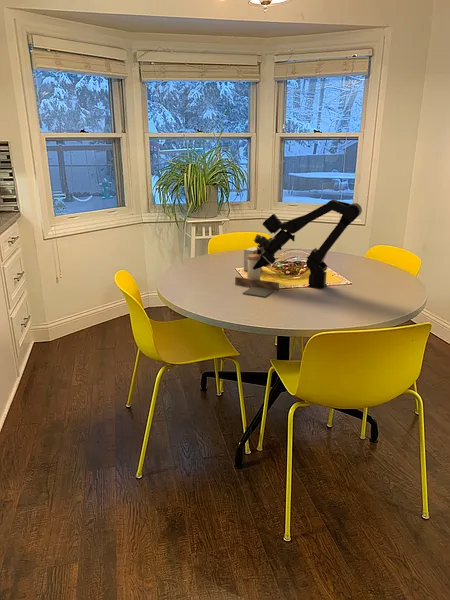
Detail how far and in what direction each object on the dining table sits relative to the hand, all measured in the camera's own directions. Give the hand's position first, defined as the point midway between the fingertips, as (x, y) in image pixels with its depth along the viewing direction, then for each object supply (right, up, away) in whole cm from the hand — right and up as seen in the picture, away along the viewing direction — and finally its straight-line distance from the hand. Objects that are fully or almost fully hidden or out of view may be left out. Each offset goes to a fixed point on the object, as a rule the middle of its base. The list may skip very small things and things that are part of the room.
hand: (252, 266), depth 201 cm
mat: (+2, -12, -12) cm, 17 cm away
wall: (+2, -9, -4) cm, 10 cm away
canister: (+1, -7, +2) cm, 7 cm away
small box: (+2, 0, +22) cm, 22 cm away
